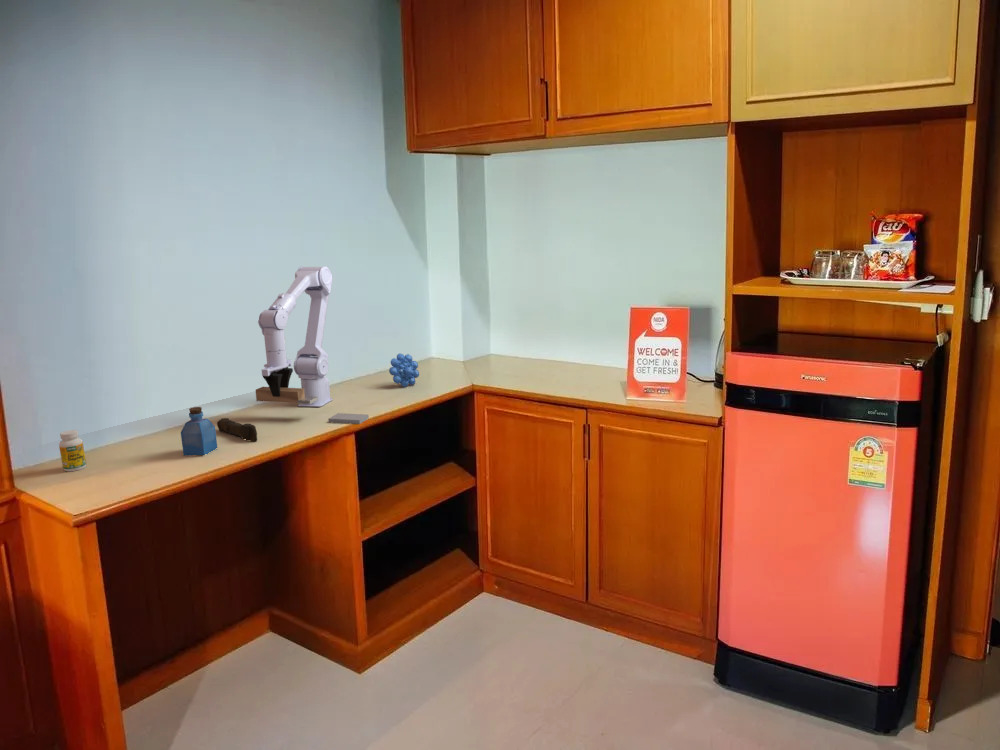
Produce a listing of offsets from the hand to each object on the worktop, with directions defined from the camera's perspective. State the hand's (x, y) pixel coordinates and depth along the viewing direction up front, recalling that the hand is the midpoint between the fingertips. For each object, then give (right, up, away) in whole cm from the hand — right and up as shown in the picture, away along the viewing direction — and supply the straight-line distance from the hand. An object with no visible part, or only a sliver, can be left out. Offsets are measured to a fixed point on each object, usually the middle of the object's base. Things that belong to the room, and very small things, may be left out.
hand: (280, 394), depth 248 cm
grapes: (+34, +1, +35) cm, 49 cm away
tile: (+17, -7, -3) cm, 18 cm away
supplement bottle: (-42, -18, -39) cm, 60 cm away
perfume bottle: (-13, -15, -29) cm, 35 cm away
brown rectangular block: (+2, -2, 0) cm, 3 cm away
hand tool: (-7, -12, -15) cm, 20 cm away
